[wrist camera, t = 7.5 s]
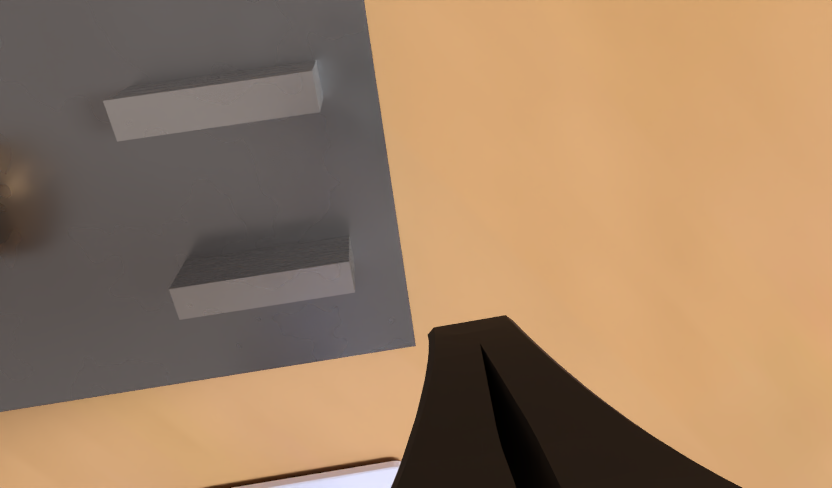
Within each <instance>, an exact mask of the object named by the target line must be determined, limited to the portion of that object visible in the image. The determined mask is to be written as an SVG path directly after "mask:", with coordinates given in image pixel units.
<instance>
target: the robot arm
mask: <svg viewBox="0 0 832 488" xmlns="http://www.w3.org/2000/svg"><path fill="white" fill-rule="evenodd" d="M428 339H429V355H428V364H427V370H426V376H425V382H424V386H423V390H422V394H421V398H420V403H419V407H418V411H417V415H416V418H415V421H414V424H413V428H412V431H411V434H410V437H409V440H408V443H407V446H406V449H405V452H404V455H403V458H402V461H390V462H384V463H378V464H372V465H366V466H360V467H354V468H348V469H341V470H335V471H329V472H323V473H317V474H311V475H305V476H299V477H293V478H287V479H281V480H275V481H269V482H263V483H257V484H251V485H245V486H239V487H233V488H742V487H740V486H738V485H736V484H734V483H732V482H730V481H728V480H726V479H724V478H723V477H721V476H719V475H717V474H715V473H713V472H712V471H710V470H708V469H706V468H705V467H703V466H701V465H699V464H697V463H696V462H694V461H692V460H691V459H689V458H687V457H686V456H684V455H682V454H681V453H679V452H678V451H676V450H674V449H673V448H671V447H670V446H668V445H666V444H665V443H663V442H661V441H660V440H658V439H657V438H655V437H653V436H652V435H651V434H649V433H648V432H646V431H645V430H643V429H642V428H640V427H639V426H637V425H636V424H634V423H633V422H632V421H630V420H629V419H627V418H626V417H625V416H623V415H622V414H621V413H619V412H618V411H617V410H615V409H614V408H612V407H611V406H610V405H608V404H607V403H606V402H604V401H603V400H602V399H601V398H599V397H598V396H597V395H595V394H594V393H593V392H592V391H590V390H589V389H588V388H587V387H585V386H584V385H583V384H582V383H581V382H579V381H578V380H577V379H576V378H575V377H573V376H572V375H571V374H570V373H569V372H567V371H566V370H565V369H564V368H563V367H561V366H560V365H559V364H558V363H557V362H556V361H555V360H553V359H552V358H551V357H550V356H549V355H548V354H547V353H546V352H545V351H544V350H542V349H541V348H540V347H539V346H538V345H537V344H536V343H535V342H534V341H533V340H532V339H531V338H530V337H529V336H528V335H527V334H526V333H525V332H524V331H523V330H522V329H521V328H520V327H519V326H518V325H517V324H516V323H515V322H514V321H513V320H511V319H510V318H509V317H507V316H506V315H504V316H499V317H493V318H487V319H481V320H475V321H469V322H464V323H458V324H452V325H446V326H440V327H435V328H433V329H432V330H431V332H430V333H429V334H428Z"/></svg>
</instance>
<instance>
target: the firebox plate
mask: <svg viewBox="0 0 832 488" xmlns="http://www.w3.org/2000/svg"><path fill="white" fill-rule="evenodd" d="M411 346H416V345H415V338H414V331H413V325H412V318H411V311H410V305H409V298H408V291H407V285H406V278H405V271H404V265H403V258H402V251H401V245H400V238H399V231H398V225H397V218H396V211H395V205H394V198H393V191H392V185H391V178H390V171H389V165H388V158H387V151H386V144H385V138H384V131H383V124H382V118H381V111H380V104H379V98H378V91H377V84H376V78H375V71H374V64H373V58H372V51H371V44H370V38H369V31H368V24H367V18H366V11H365V4H364V0H0V412H3V411H9V410H15V409H21V408H28V407H34V406H40V405H47V404H53V403H59V402H65V401H72V400H78V399H84V398H91V397H97V396H103V395H109V394H116V393H122V392H128V391H135V390H141V389H147V388H153V387H160V386H166V385H172V384H179V383H185V382H191V381H197V380H204V379H210V378H216V377H223V376H229V375H235V374H241V373H248V372H254V371H260V370H267V369H273V368H279V367H285V366H292V365H298V364H304V363H311V362H317V361H323V360H329V359H336V358H342V357H348V356H355V355H361V354H367V353H373V352H380V351H386V350H392V349H399V348H405V347H411Z"/></svg>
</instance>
